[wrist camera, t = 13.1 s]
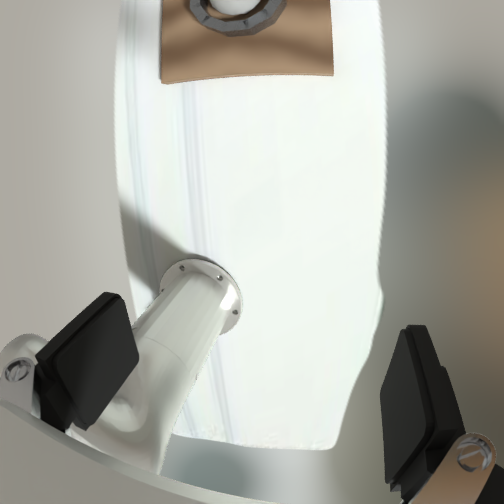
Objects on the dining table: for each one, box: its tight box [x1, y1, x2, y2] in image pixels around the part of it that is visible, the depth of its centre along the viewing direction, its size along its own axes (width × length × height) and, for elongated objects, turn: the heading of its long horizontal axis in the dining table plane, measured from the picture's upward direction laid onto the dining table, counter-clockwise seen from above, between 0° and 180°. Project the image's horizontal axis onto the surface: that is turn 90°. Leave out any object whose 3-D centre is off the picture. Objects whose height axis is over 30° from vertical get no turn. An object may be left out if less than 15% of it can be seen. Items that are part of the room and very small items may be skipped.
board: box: [161, 0, 334, 84], centre depth 27 cm, size 20×20×2 cm
